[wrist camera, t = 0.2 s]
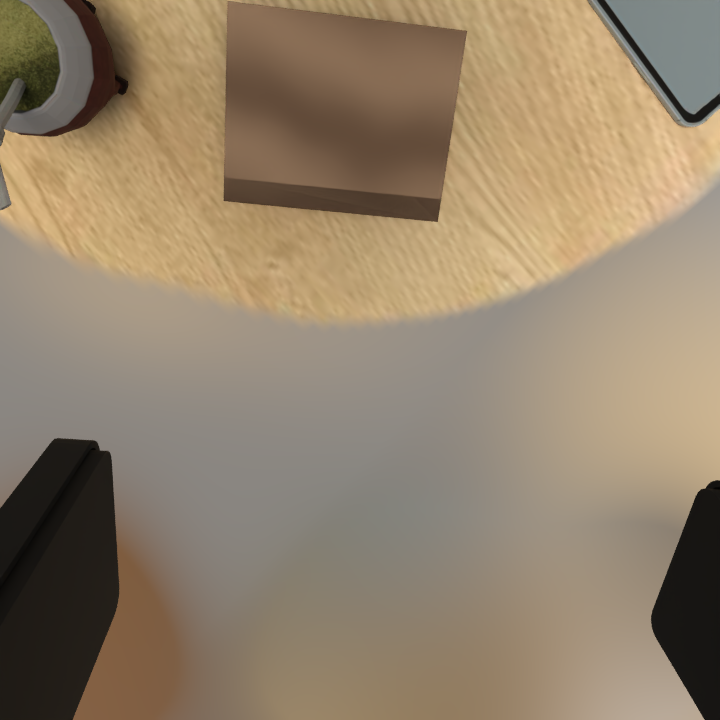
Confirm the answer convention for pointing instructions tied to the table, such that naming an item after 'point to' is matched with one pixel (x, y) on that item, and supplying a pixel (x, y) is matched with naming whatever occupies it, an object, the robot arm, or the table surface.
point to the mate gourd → (52, 69)
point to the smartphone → (671, 50)
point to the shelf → (338, 111)
